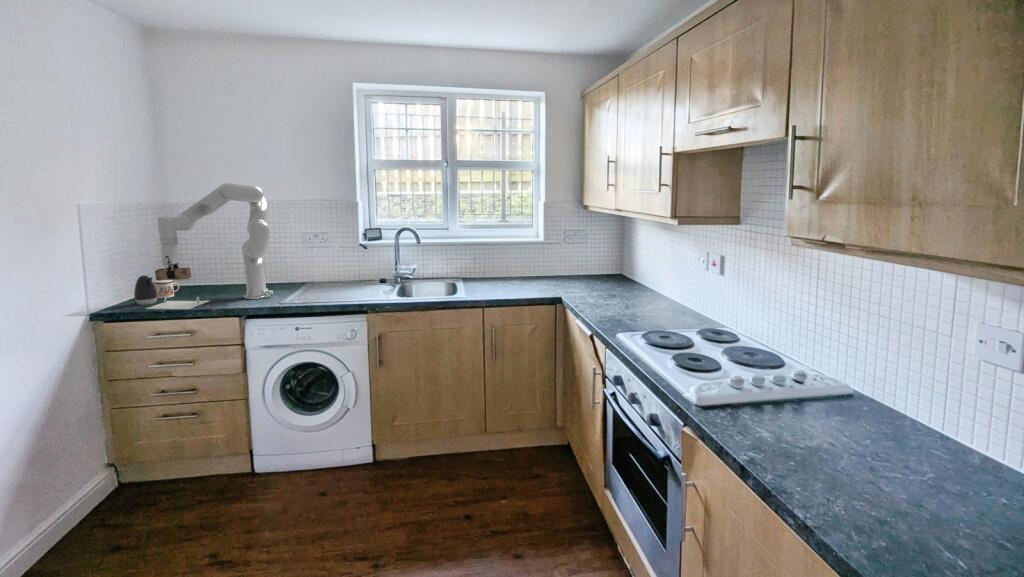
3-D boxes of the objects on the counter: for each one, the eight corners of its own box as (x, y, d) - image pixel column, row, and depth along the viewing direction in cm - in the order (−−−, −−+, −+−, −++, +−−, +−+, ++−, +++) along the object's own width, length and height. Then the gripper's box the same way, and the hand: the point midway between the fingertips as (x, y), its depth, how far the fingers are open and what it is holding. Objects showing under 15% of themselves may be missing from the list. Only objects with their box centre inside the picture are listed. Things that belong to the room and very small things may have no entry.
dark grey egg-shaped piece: (146, 307, 279) (142, 277, 276) (130, 306, 282) (126, 276, 279) (163, 303, 289) (160, 274, 286) (148, 301, 292) (144, 273, 289)
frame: (191, 277, 283) (190, 267, 282) (187, 279, 277) (185, 269, 276) (161, 278, 280) (159, 268, 279) (156, 280, 274) (154, 270, 273)
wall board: (210, 301, 292) (209, 295, 291) (189, 310, 273) (188, 303, 272) (168, 301, 292) (167, 295, 291) (145, 310, 273) (144, 302, 272)
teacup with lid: (158, 299, 297) (156, 278, 294) (152, 297, 302) (150, 276, 300) (183, 296, 305) (180, 275, 303) (177, 294, 311) (174, 273, 309)
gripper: (167, 239, 282) (172, 274, 286) (153, 243, 266) (158, 280, 269) (183, 239, 284) (188, 274, 287) (170, 243, 267) (175, 279, 271)
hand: (173, 276), depth 278 cm, fingers closed on frame, 6 cm apart
